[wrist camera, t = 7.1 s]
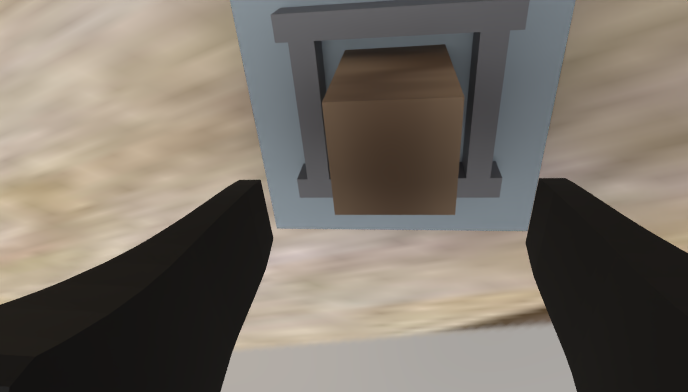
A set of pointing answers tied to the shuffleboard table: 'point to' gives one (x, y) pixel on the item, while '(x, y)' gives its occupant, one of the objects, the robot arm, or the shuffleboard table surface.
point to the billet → (394, 131)
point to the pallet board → (401, 31)
